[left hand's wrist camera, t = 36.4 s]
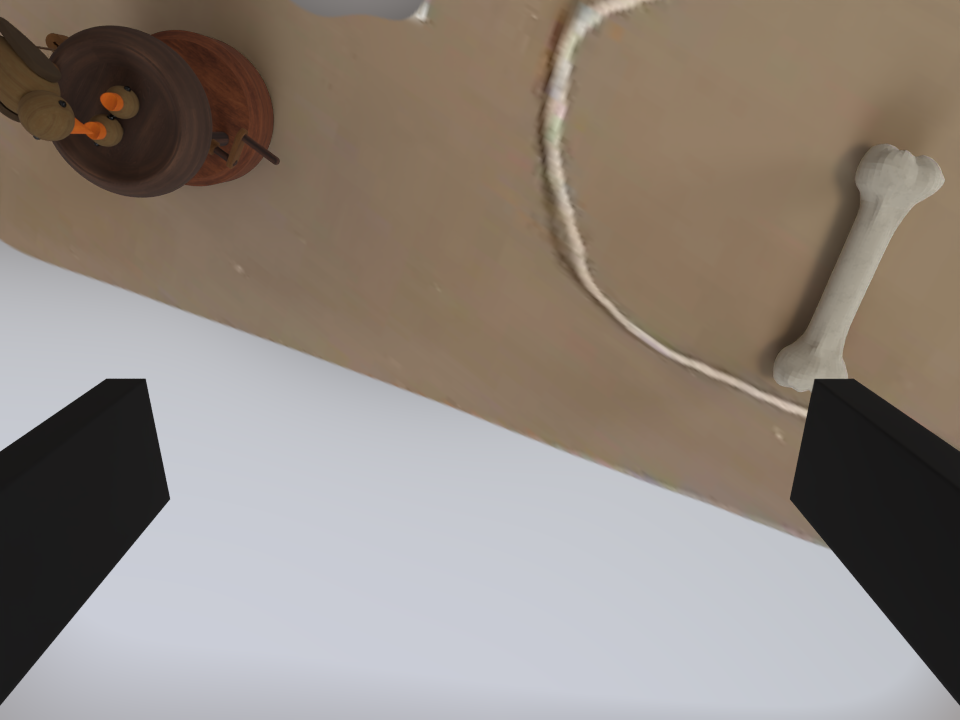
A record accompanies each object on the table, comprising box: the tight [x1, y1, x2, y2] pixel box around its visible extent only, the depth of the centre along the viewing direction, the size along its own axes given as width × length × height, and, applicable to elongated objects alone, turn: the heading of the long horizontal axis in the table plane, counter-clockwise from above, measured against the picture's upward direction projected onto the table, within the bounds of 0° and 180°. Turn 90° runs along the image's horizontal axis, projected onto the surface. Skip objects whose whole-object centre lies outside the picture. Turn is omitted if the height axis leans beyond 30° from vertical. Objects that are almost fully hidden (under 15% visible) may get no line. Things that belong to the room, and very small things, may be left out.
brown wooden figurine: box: [0, 17, 280, 197], centre depth 39 cm, size 15×11×20 cm
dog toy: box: [773, 144, 945, 392], centre depth 50 cm, size 20×6×5 cm, turn 167°
